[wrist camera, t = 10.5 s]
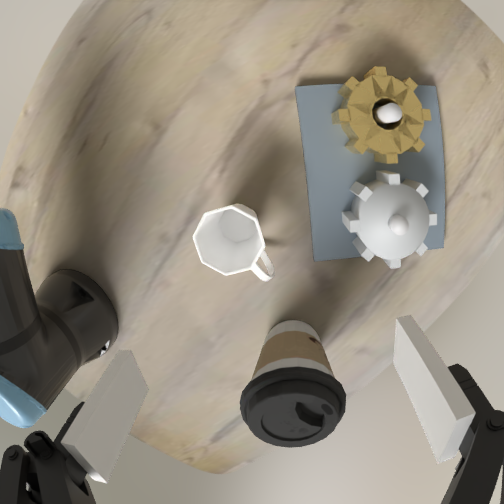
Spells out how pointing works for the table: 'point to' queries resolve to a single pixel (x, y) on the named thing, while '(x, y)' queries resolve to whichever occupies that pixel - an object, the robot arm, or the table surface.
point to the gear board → (360, 167)
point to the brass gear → (363, 125)
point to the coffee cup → (292, 389)
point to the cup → (232, 241)
